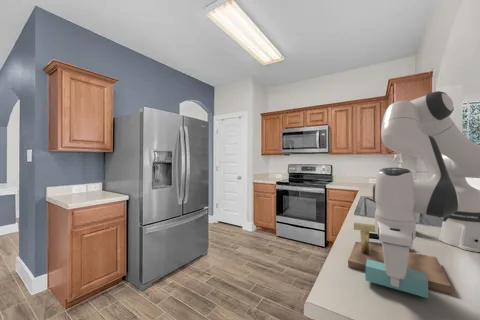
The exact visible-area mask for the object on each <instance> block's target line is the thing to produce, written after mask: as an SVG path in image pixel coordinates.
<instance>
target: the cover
mask: <svg viewBox="0 0 480 320" xmlns="http://www.w3.org/2000/svg"><path fill="white" fill-rule="evenodd" d="M365 281H366V282H369V283H374V284H377V285H380V286H383V287H386V288H391V289H394V290H396V291H402V292H404V293H407V294H412V295H416V296H420V297H423V298H426V299H429V288H428V280H427V277H426V274H425V273H424V272H420V271H416V270H411V269H407V272H406V276H405V279H399V287H395V286H392V285H391V284H390V276H388V275H387V274H386V271H385V265H384V263H381V262H377V261H373V260H369V259H367V262H366V271H365Z"/></svg>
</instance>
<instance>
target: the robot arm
mask: <svg viewBox="0 0 480 320" xmlns="http://www.w3.org/2000/svg"><path fill="white" fill-rule="evenodd" d="M453 112H454V102H453V99H452V98H451V97H450V96H449V94H447V93H446V92H444V91H439V90H438V91H433V92H430V93H427V94H425V95H424V96H420V97H417V98H414V99H412V100H410V101H409V100H398V101H395V102H393V103H391V104H389V106H388V107H387V108H386V110H385V112H384V115H383V116H382V120H381V128H380V138H381V142H382V143H383V145H384V146H385V147H386V148H387V149H390V150H391V151H393V152H395V153H398V154H405V155H408V156H412V157H415V158H418V159H420V160H421V161H423V162H424V164H425V168H426V171H427V174H428V178H427V179H418V178H417V179H414V175H413V172H412V171H411V170H410V169H407V168H404V167H384V168H381V169H379V170H378V171H377V174H376V181H375V183H374V184H373V185H372V200H373V201H374V202H375V204H376V209H375V212H374V225H375V232H374V233H375V234H378V236H379V240H378V241H380V242H381V247H382V248H383V256H384V265H385V271H386V274H387V275H388V276H390V284H391V285H392V286H395V287H399V279H405V276H406V272H407V264H408V256H409V252H410V248H412V247H413V243H414V241H415V239H416V234H417V233H416V228H417V227H416V223H417V222H416V216H415V214H423V215H426V216H431V217H436V218H441V221H442V223H441V229H440V232H439V235H438V240H439V241H440V242H443V243H445V244H448V245H450V246H455V247H458V248H459V249H462V250H466V251H470V252H476V253H480V190H478V189H477V188H476V187H474V186H471V185H470V184H469V182H468V181H467V179H466V178H474V179H475V178H476V179H480V145H479V144H478V143H476V142H474V141H472V140H471V139H469V138H468V137H467V136H466V135H465V134H463V132H462V131H461V130H460V129H459V127H458V126H457V125H456V124H455V121H453V120H452V118H451V114H452V113H453ZM373 201H372V202H373ZM374 202H373V203H374Z"/></svg>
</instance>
